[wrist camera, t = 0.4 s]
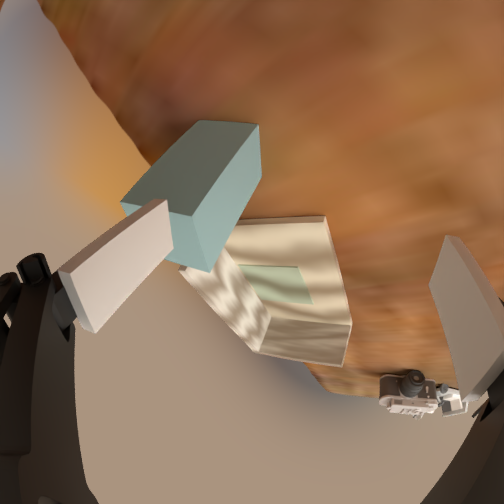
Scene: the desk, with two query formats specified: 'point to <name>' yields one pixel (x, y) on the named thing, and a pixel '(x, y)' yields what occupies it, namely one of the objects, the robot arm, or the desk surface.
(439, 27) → the desk surface
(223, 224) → the teal block
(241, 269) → the arena
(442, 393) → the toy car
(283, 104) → the desk surface
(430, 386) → the camera
